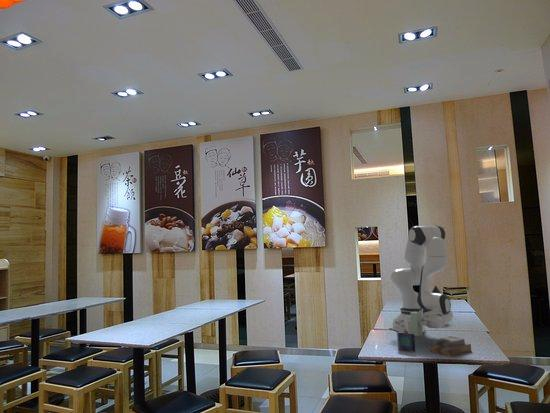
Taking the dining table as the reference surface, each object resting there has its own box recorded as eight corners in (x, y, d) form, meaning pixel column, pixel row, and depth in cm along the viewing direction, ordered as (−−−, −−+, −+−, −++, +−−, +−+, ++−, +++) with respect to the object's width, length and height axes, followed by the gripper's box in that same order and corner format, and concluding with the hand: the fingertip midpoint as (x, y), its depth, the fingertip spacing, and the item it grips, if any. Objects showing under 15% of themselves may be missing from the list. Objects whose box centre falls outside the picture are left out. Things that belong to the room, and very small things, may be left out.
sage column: (411, 334, 220) (410, 312, 221) (416, 333, 222) (415, 311, 223) (417, 336, 217) (416, 313, 218) (422, 335, 219) (421, 312, 220)
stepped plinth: (430, 352, 205) (430, 339, 206) (449, 346, 214) (448, 334, 215) (452, 356, 195) (451, 343, 196) (471, 351, 204) (470, 338, 205)
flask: (397, 349, 212) (395, 328, 213) (399, 348, 214) (398, 327, 215) (414, 352, 206) (412, 330, 207) (416, 351, 208) (415, 329, 209)
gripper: (415, 311, 236) (399, 314, 228) (447, 316, 219) (431, 319, 211) (415, 322, 235) (400, 325, 228) (447, 328, 218) (432, 331, 211)
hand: (415, 322), depth 219 cm, fingers closed on sage column, 4 cm apart
